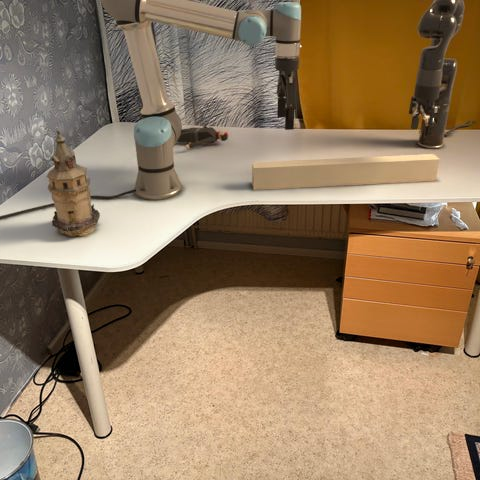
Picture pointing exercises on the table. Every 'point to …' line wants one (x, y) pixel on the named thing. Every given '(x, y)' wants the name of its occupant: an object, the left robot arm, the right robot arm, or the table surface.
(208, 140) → the toy
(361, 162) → the beam
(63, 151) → the miniature building
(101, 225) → the table surface
